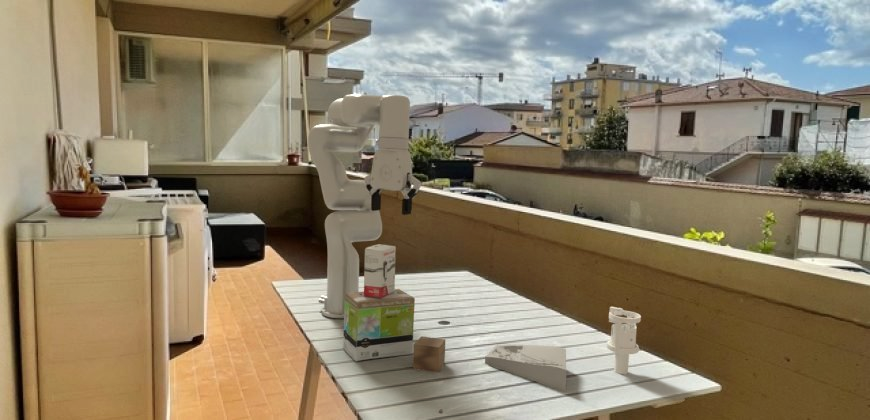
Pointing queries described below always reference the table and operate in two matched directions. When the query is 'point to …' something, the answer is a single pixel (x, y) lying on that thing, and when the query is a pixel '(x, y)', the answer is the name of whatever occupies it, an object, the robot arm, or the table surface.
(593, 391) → the table surface
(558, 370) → the ramp
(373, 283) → the ink box
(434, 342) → the walnut block
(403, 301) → the tea box
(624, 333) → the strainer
